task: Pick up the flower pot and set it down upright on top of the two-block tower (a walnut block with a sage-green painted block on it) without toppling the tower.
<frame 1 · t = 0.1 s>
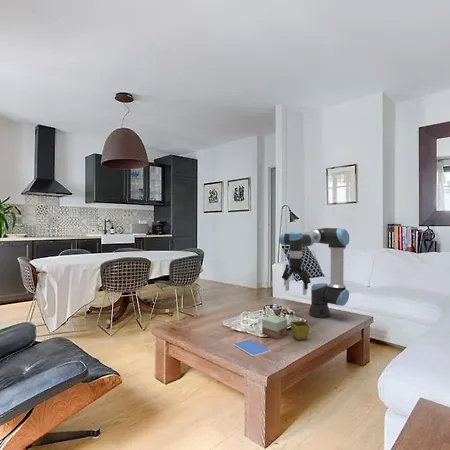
hand: (295, 292, 196), 28 cm above the table, fingers open, 13 cm apart
flower pot: (299, 338, 196), on the table
tablet computer: (251, 349, 182), on the table
bottom block: (274, 334, 203), on the table
top block: (274, 326, 203), point 5 cm above the table
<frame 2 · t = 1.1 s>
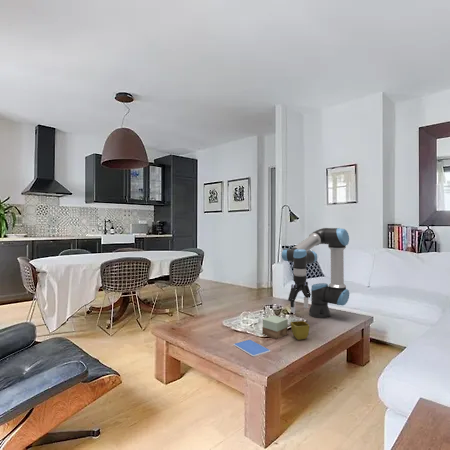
hand: (299, 310, 195), 17 cm above the table, fingers open, 13 cm apart
bottom block: (274, 334, 203), on the table, touching top block
top block: (275, 327, 202), point 5 cm above the table, touching bottom block
everything else where it was.
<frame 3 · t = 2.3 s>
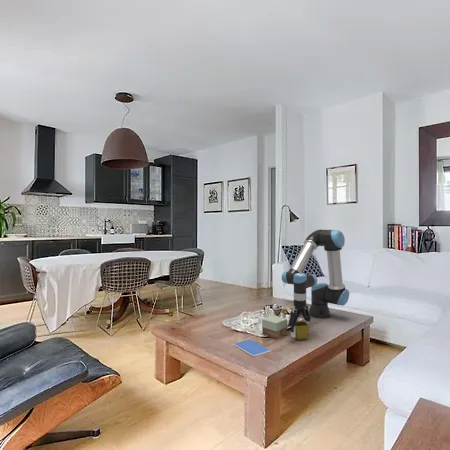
hand: (299, 334, 196), 2 cm above the table, fingers open, 13 cm apart
nothing on the table moved.
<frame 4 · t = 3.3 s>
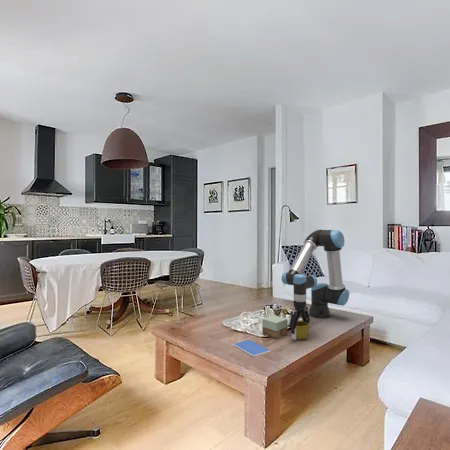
hand: (299, 336, 196), 1 cm above the table, fingers closed on flower pot, 11 cm apart
flower pot: (299, 338, 196), on the table, touching gripper
bottom block: (274, 334, 203), on the table
top block: (274, 326, 203), point 5 cm above the table
everything else where it was.
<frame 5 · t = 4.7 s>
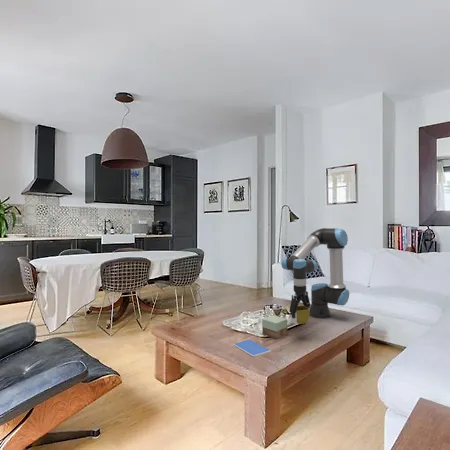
hand: (300, 320, 196), 11 cm above the table, fingers closed on flower pot, 11 cm apart
flower pot: (300, 322, 196), point 9 cm above the table, touching gripper
bottom block: (274, 334, 203), on the table, touching top block
top block: (274, 326, 203), point 5 cm above the table, touching bottom block
everything else where it was.
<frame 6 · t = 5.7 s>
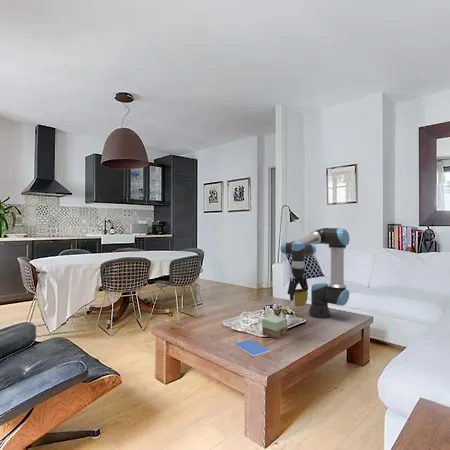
hand: (298, 303, 196), 21 cm above the table, fingers closed on flower pot, 11 cm apart
flower pot: (298, 305, 196), point 20 cm above the table, touching gripper
everything else where it was.
when the fingers open (12 cm above the table, at t = 9.5 s): flower pot drops 1 cm, point 10 cm above the table.
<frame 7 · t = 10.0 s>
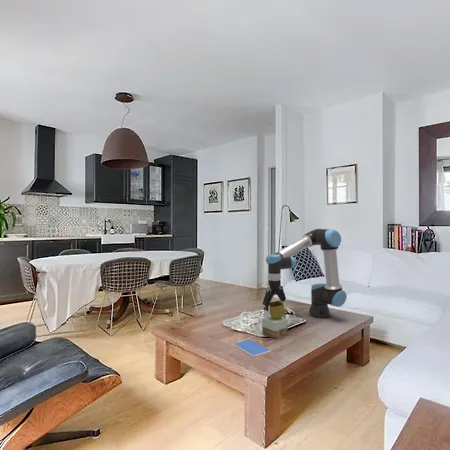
hand: (274, 313, 202), 13 cm above the table, fingers open, 13 cm apart
flower pot: (276, 317, 204), point 10 cm above the table, touching gripper
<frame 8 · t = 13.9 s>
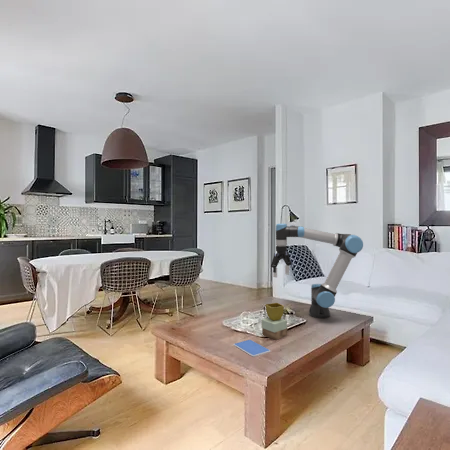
hand: (281, 275, 227), 32 cm above the table, fingers open, 13 cm apart
flower pot: (274, 319, 202), point 9 cm above the table, touching top block
bottom block: (274, 335, 201), on the table, touching top block
top block: (274, 328, 201), point 5 cm above the table, touching bottom block, flower pot
everything else where it was.
at the end: flower pot inside the target area on the top block (1.4 cm from its centre), point 4.8 cm above the top block's base; flower pot tilted 0°; top block moved 1.8 cm from its start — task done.
